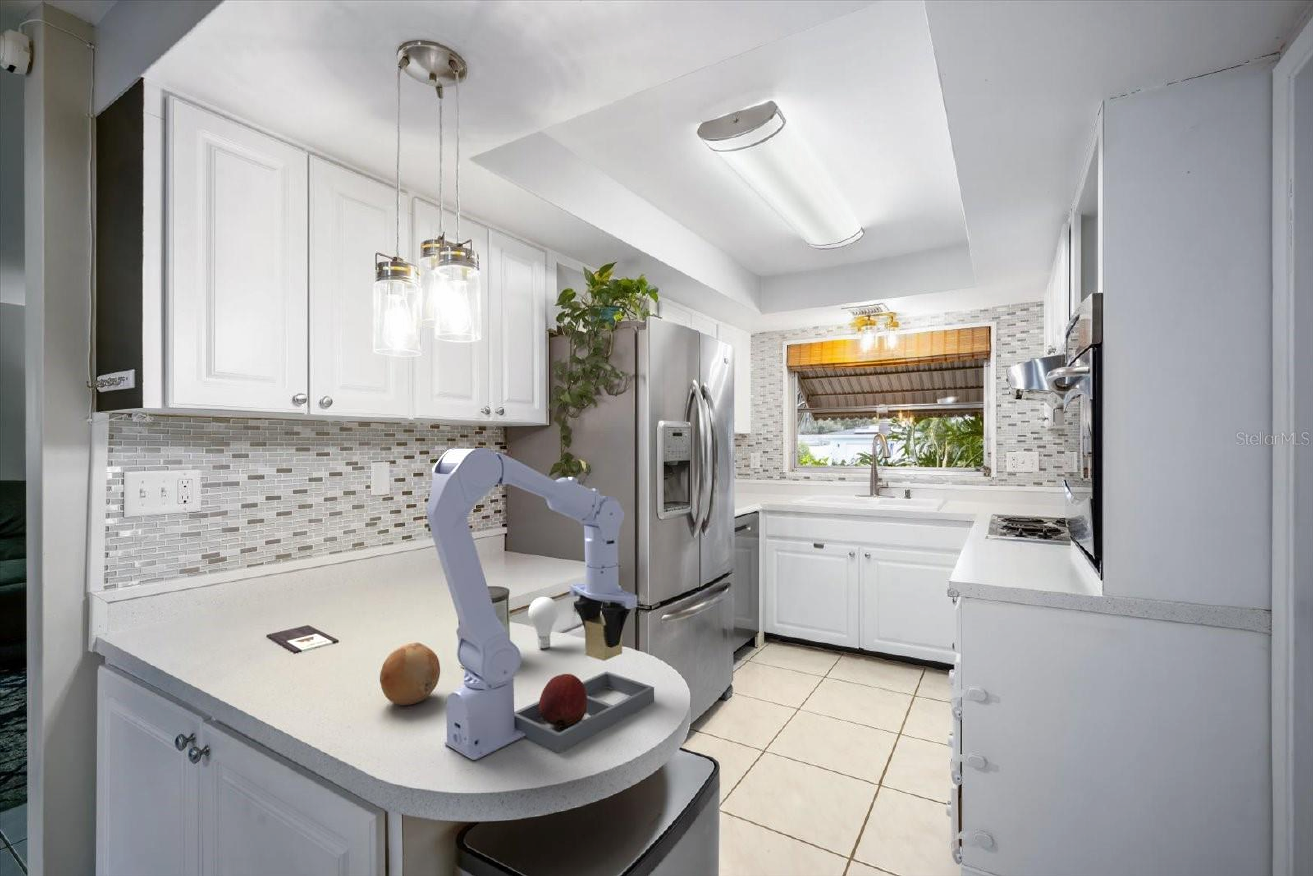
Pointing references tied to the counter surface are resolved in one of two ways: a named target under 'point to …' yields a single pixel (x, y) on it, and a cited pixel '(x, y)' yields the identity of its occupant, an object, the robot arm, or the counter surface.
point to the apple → (563, 701)
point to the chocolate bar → (302, 639)
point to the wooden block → (599, 640)
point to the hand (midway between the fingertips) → (603, 642)
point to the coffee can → (499, 606)
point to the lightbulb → (543, 618)
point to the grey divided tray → (600, 710)
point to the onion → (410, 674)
